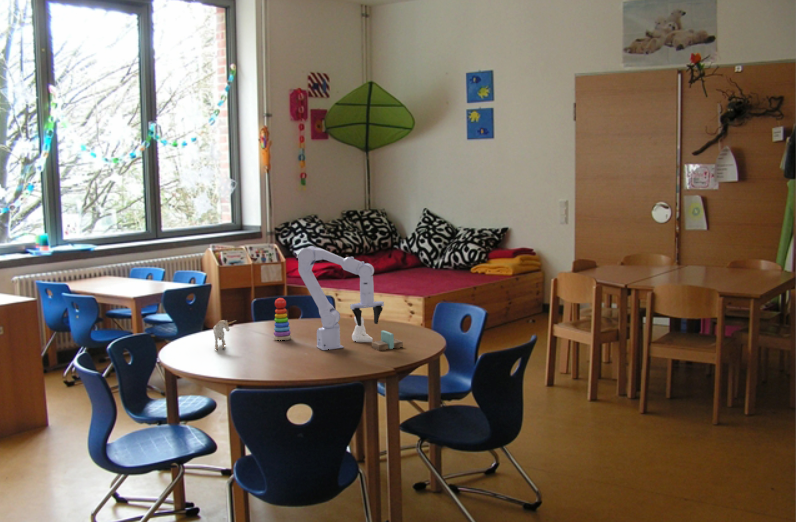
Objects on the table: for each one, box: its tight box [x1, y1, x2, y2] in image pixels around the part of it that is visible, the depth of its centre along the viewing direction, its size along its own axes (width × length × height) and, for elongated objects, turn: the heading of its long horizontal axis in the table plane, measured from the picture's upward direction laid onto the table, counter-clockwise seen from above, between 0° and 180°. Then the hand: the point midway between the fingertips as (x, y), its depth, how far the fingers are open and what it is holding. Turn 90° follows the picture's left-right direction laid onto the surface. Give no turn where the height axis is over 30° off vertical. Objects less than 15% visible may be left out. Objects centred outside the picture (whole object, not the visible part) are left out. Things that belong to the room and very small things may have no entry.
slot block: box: [371, 338, 404, 351], centre depth 318 cm, size 11×7×2 cm, turn 117°
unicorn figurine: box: [212, 319, 237, 351], centre depth 322 cm, size 7×20×13 cm, turn 33°
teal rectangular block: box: [380, 330, 395, 350], centre depth 317 cm, size 2×9×6 cm, turn 26°
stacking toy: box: [273, 297, 292, 342], centre depth 338 cm, size 8×8×19 cm
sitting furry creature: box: [351, 316, 374, 343], centre depth 331 cm, size 10×9×12 cm
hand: (367, 324), depth 317 cm, fingers open, 7 cm apart
